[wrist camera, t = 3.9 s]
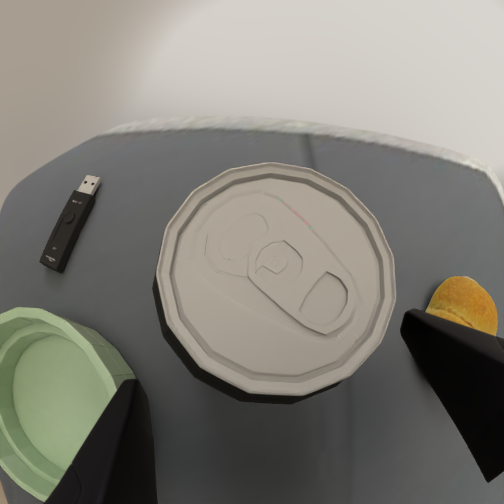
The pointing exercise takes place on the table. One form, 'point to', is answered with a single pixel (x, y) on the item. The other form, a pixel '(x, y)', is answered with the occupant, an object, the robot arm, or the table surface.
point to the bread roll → (464, 304)
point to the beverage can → (273, 283)
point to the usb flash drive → (69, 225)
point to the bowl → (50, 393)
